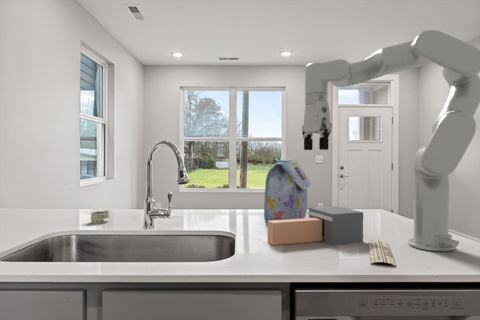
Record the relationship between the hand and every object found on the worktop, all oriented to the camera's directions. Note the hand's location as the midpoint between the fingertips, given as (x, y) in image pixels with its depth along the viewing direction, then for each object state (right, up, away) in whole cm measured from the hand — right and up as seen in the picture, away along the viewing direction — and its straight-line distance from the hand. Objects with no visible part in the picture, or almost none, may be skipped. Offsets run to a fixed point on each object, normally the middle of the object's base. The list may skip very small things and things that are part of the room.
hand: (315, 149), depth 120 cm
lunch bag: (-5, -30, +29) cm, 42 cm away
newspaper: (+15, -32, -19) cm, 40 cm away
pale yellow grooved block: (-85, -30, +27) cm, 94 cm away
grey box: (+7, -30, 0) cm, 31 cm away
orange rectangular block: (-8, -30, -6) cm, 32 cm away
